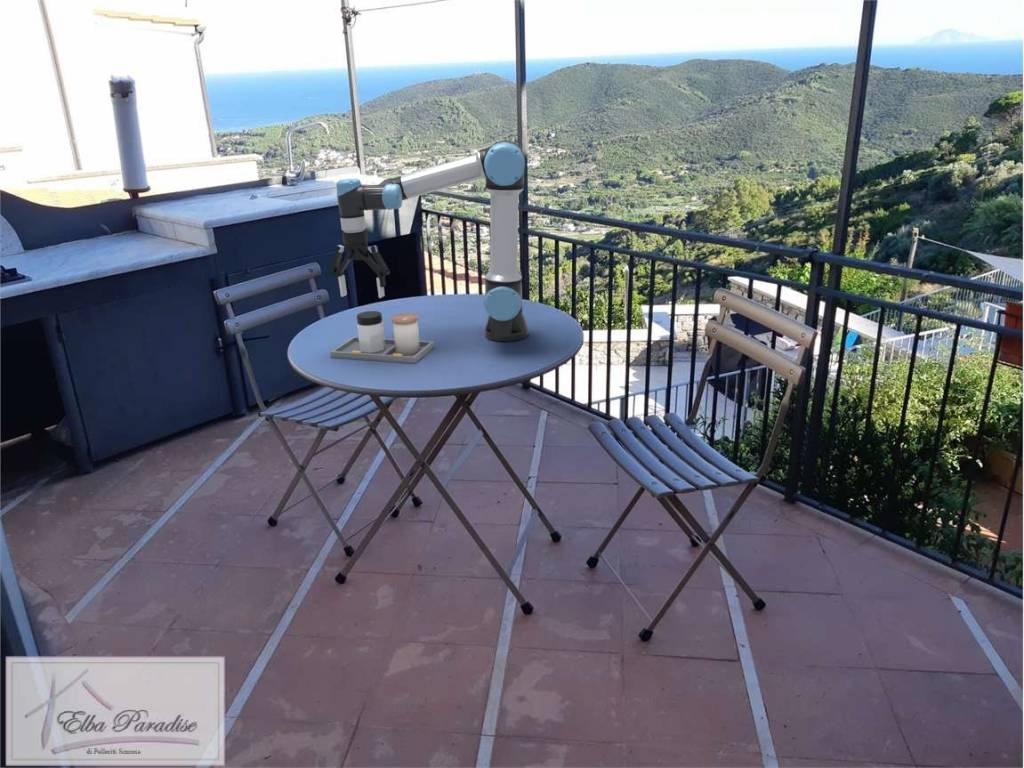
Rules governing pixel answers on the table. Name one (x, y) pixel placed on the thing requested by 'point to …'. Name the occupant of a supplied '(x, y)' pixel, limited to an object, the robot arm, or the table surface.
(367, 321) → the jar
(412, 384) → the table surface
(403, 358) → the divided grey tray
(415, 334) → the white jar with lid
